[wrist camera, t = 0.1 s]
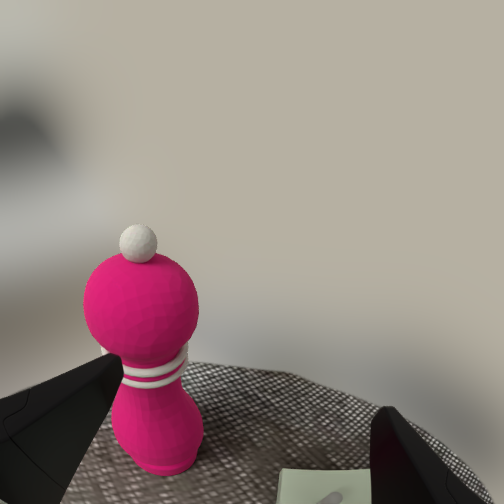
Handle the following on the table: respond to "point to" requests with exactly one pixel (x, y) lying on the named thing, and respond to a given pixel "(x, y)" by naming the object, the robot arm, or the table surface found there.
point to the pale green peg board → (324, 486)
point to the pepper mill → (148, 350)
